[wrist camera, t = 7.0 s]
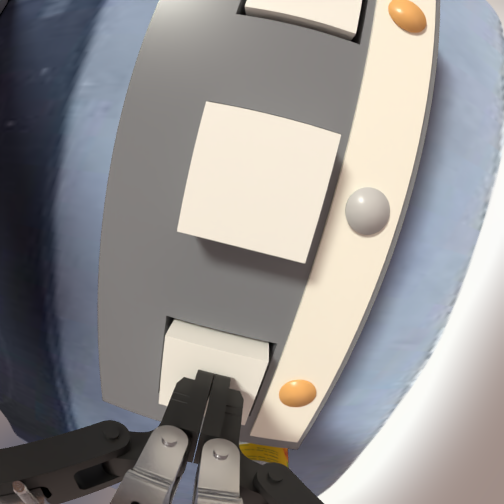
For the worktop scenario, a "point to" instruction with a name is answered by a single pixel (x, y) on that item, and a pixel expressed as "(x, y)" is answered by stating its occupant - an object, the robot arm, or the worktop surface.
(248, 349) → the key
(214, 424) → the robot arm
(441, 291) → the worktop surface
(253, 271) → the button board
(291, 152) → the middle key
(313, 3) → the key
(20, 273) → the worktop surface
